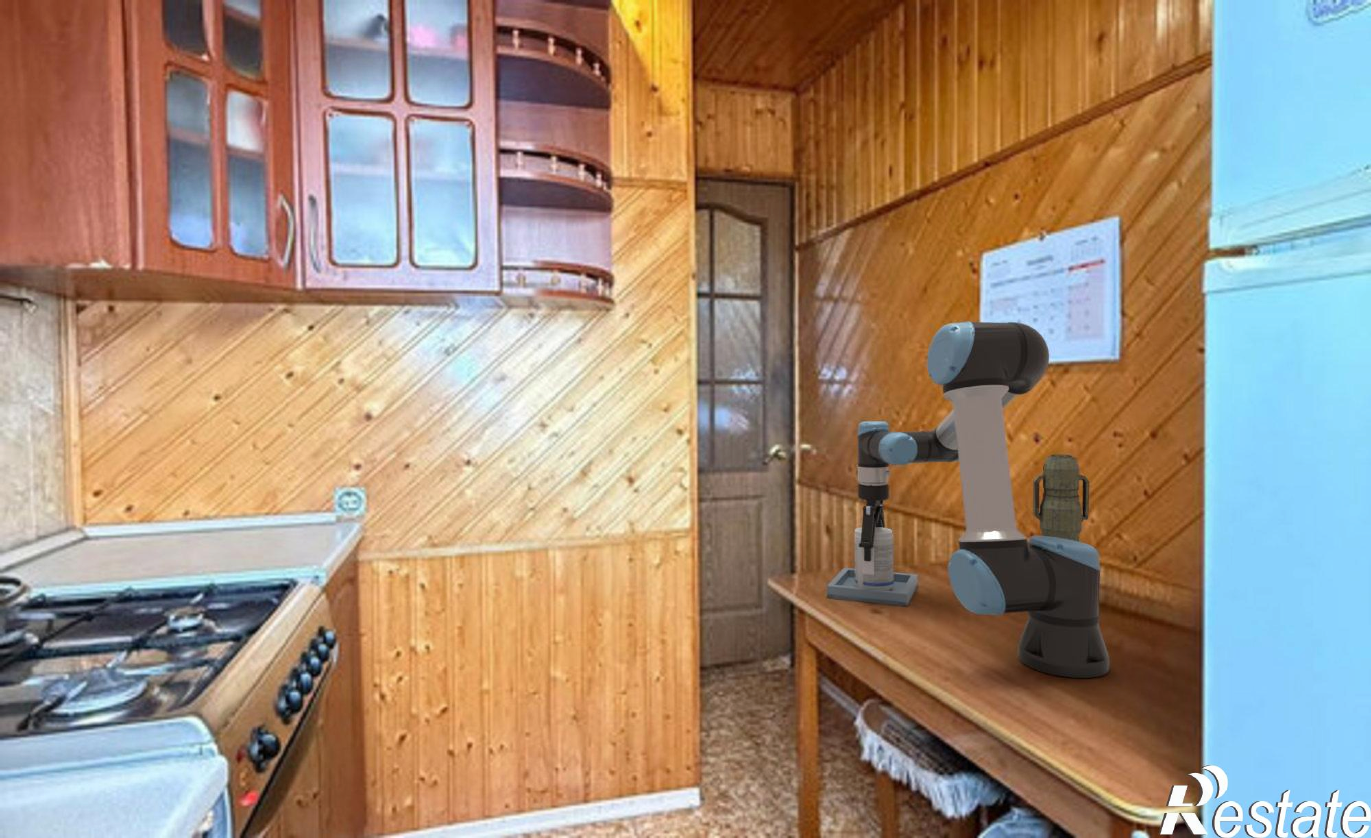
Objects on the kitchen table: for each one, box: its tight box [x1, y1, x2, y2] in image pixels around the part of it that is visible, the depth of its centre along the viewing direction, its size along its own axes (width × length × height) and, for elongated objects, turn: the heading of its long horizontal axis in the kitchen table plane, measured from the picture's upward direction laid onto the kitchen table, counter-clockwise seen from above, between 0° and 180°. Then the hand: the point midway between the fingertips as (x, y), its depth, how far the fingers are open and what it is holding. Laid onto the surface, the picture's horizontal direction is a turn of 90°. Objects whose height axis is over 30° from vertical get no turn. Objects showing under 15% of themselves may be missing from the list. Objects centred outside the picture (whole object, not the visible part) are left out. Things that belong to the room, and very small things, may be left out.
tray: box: [826, 567, 919, 607], centre depth 186 cm, size 19×19×3 cm
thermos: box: [1032, 454, 1090, 542], centre depth 174 cm, size 9×12×35 cm
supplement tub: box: [853, 526, 895, 590], centre depth 185 cm, size 10×10×15 cm
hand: (873, 567), depth 185 cm, fingers open, 13 cm apart
